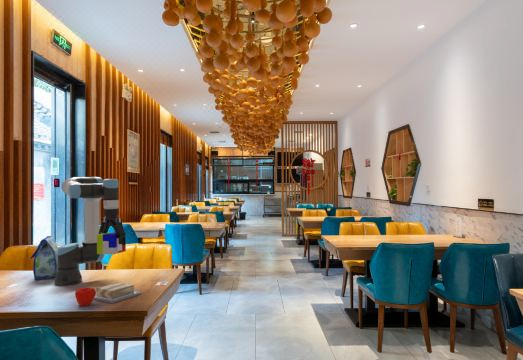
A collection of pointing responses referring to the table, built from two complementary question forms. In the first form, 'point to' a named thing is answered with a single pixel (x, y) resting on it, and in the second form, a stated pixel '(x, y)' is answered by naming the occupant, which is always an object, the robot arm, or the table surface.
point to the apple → (85, 296)
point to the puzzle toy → (109, 243)
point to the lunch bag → (45, 259)
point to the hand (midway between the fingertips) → (111, 250)
